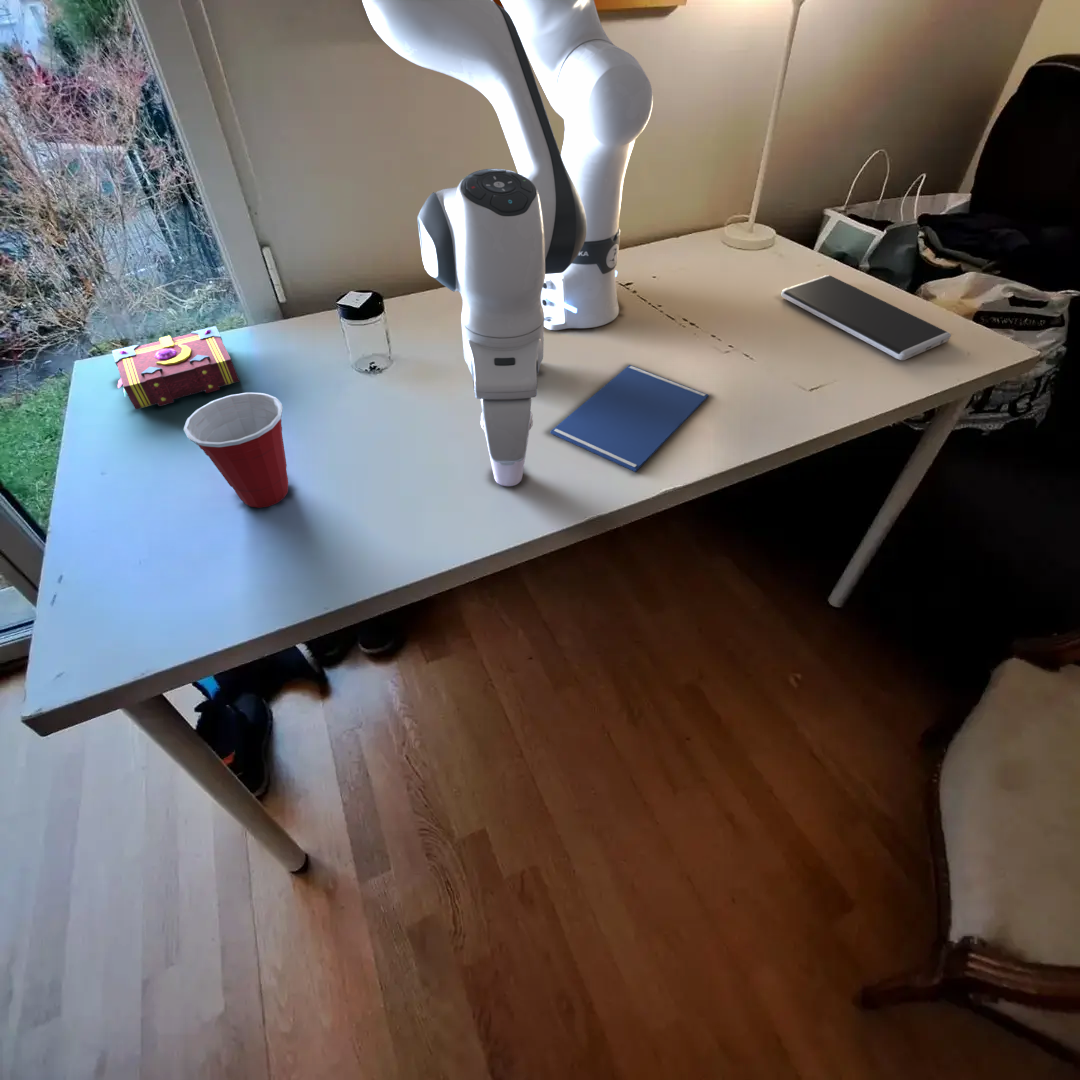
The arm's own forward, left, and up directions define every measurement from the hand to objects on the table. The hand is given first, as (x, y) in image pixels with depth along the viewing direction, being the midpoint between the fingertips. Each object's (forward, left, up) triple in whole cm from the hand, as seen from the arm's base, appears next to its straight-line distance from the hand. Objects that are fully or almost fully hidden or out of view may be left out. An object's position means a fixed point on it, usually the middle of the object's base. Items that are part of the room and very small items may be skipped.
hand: (506, 442), depth 80 cm
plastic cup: (-23, -21, -6) cm, 32 cm away
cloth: (+6, +22, -6) cm, 24 cm away
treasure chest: (-54, -13, -6) cm, 56 cm away
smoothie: (0, 0, -6) cm, 6 cm away
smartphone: (+24, +72, -6) cm, 76 cm away
